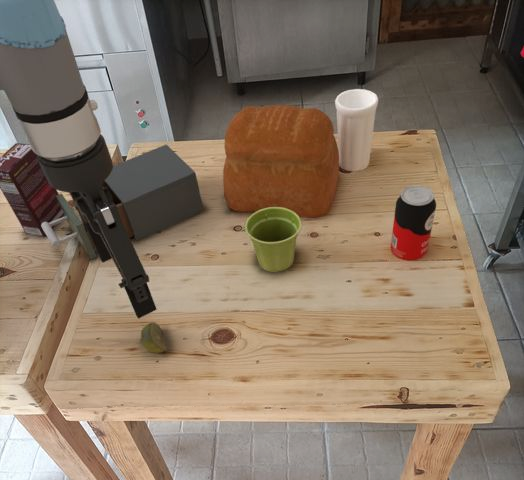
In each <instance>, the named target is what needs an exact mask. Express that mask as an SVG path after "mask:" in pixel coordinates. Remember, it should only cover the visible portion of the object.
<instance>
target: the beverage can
mask: <svg viewBox="0 0 524 480" xmlns="http://www.w3.org/2000/svg"><path fill="white" fill-rule="evenodd" d="M436 209H437V202H436V200H435V193H434V191H433V190H432V189H431V188H430V187H428V186H425V185H420V184H414V185H409V186H407V187H405V188H403V189H402V190H401V193H400V195H399V196H398V198H397V199H396V202H395V207H394V217H393V223H392V231H391V240H390V250H391V253H392V254H393V255H394V256H395V257H397V258H398V259H401V260H403V261H417V260H419V259H421V258H423V257H425V255H426V254H427V252H428V249H429V245H430V240H431V234H432V229H433V226H434V225H433V224H434V219H435V215H436V214H435V213H436Z"/></svg>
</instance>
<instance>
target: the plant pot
mask: <svg viewBox="0 0 524 480" xmlns="http://www.w3.org/2000/svg"><path fill="white" fill-rule="evenodd" d="M244 229H245V233H246V235H247V236H248V237H249V238H250V240H251V242H252V244H253V248H254V252H255V255H256V258H257V262H258V265H259V266H260V267H261V268H262V269H263V270H264V271H267V272H272V273H278V272H283V271H285V270H287V269H288V268H290V267H291V266H292V265H293V264H294V260H295V251H296V243H297V238H298V236H299V233H300V232H301V229H302V219H301V218H300V216H298V215H297V214H296V213H295V212H293V211H291V210H289V209H286V208H282V207H269V208H264V209H261V210H259V211H257V212H252V213H251V215H249V217H248V218H247V219H246V221H245V224H244Z"/></svg>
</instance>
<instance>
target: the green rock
mask: <svg viewBox="0 0 524 480" xmlns="http://www.w3.org/2000/svg"><path fill="white" fill-rule="evenodd" d="M140 342H141V345H142V347H143V348H144V349H145V350H146V351H147V352H149V353H155V354H162V353H165V352H166V351H167V350H168V349H167V347H166V346H167V344H166V337H165V334H164V331H163V329H162V328H161V327H160V325H159V324H157V322H154V321H151V322H148V323H146V324H145V325H144V326H143V327H142V329H141V331H140Z"/></svg>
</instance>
